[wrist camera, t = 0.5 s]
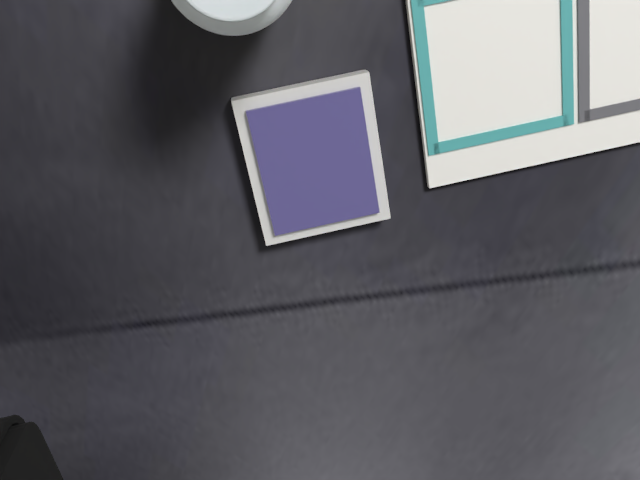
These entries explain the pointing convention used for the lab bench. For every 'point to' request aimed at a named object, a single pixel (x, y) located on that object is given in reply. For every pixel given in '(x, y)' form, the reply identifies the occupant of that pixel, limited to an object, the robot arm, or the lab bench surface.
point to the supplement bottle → (232, 14)
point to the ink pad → (313, 156)
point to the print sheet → (522, 82)
